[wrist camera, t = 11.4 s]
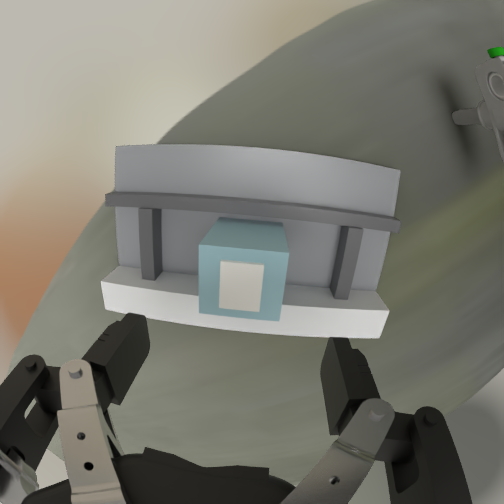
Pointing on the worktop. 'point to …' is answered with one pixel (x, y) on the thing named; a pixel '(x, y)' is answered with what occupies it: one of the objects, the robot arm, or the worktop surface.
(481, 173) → the worktop surface
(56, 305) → the worktop surface
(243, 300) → the block
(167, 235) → the rail mount
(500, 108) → the mechanical component
